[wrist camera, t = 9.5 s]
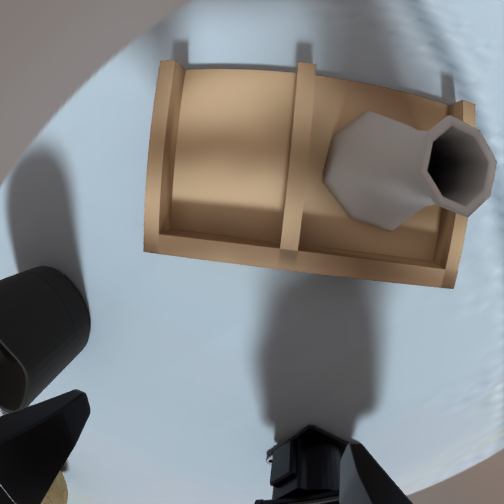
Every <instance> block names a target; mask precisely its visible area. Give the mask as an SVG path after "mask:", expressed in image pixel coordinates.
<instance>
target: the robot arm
mask: <svg viewBox="0 0 504 504" xmlns="http://www.w3.org/2000/svg"><path fill="white" fill-rule="evenodd" d="M89 415H90V405H89V402H88V398H87V395H86V393H85V392H82V391H80V390H77V389H75V390H72V391H70V392H67V393H64V394H62V395H59V396H56V397H54V398H51V399H48V400H46V401H43V402H40V403H38V404H35V405H32V406H29V407H26V408H24V409H21V410H18V411H15V412H12V413H9V414H6V415H3V416H1V417H0V504H41V503H42V501H43V499H44V497H45V496H46V494H47V492H48V490H49V489H50V487H51V485H52V483H53V482H54V480H55V478H56V477H57V475H58V473H59V472H60V470H61V468H62V467H63V465H64V463H65V462H66V460H67V458H68V457H69V455H70V453H71V452H72V450H73V448H74V447H75V445H76V443H77V441H78V439H79V437H80V434H81V432H82V430H83V428H84V426H85V424H86V421H87V419H88V417H89ZM266 462H267V463H268V464H271V465H272V468H271V477H270V485H271V486H273V495H272V500H263V499H262V500H256V501H255V504H413V503H412V502H411V501H410V500H409V499H408V497H407V496H406V495H405V494H404V493H403V492H402V491H401V489H400V488H399V487H398V486H397V485H396V484H395V482H394V481H393V480H392V479H391V478H390V477H389V475H388V474H387V473H386V472H385V471H384V470H383V468H382V467H381V466H380V465H379V464H378V463H377V461H376V460H375V459H374V458H373V457H372V455H371V454H370V453H369V452H368V451H367V449H366V448H365V447H364V446H363V445H362V444H361V443H348V442H345V441H343V440H341V439H339V438H337V437H335V436H333V435H331V434H329V433H327V432H325V431H323V430H321V429H319V428H317V427H315V426H308V427H306V428H305V429H303V430H302V431H301V432H300V433H298V434H297V435H296V436H294V437H293V438H292V439H290V440H288V441H287V442H286V443H284V444H283V445H282V446H280V447H279V448H277V449H276V450H275V451H273V453H271V454H270V455H269V456H267V458H266Z"/></svg>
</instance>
